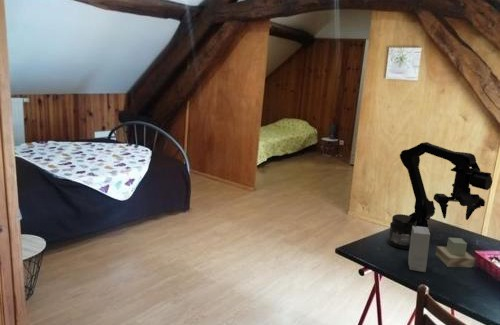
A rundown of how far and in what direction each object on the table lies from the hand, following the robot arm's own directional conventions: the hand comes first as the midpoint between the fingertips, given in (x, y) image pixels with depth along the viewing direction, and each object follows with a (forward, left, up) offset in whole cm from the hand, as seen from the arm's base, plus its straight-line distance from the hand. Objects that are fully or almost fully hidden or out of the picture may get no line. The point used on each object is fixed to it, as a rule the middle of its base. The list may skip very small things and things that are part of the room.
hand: (455, 219), depth 168 cm
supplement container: (-22, -3, -12) cm, 25 cm away
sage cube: (-5, -15, -8) cm, 18 cm away
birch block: (-5, -15, -12) cm, 20 cm away
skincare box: (-22, -22, -12) cm, 33 cm away
